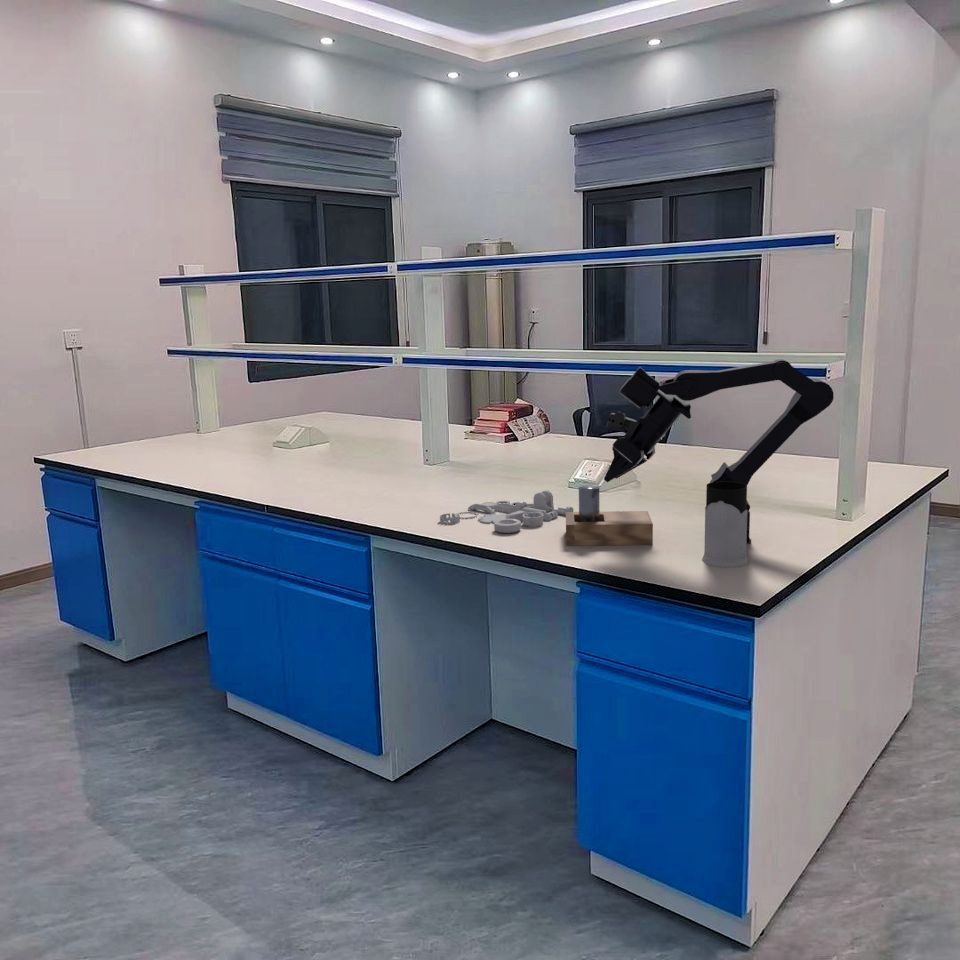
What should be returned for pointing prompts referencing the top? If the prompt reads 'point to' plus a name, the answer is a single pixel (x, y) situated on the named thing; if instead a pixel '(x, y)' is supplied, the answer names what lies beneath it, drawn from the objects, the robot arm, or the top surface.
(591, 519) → the axle
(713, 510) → the glass holder
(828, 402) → the robot arm
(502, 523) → the robot parts
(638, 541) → the wooden block with hole
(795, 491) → the top surface
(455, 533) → the top surface
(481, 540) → the top surface
